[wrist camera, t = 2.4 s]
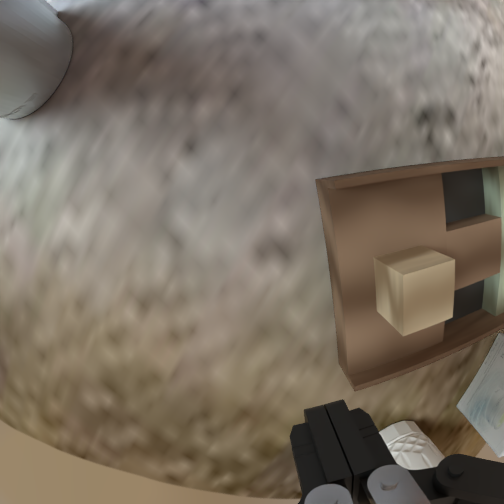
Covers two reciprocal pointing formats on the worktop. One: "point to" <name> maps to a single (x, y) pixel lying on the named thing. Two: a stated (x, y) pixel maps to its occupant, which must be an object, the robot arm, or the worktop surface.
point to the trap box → (407, 236)
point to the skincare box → (488, 398)
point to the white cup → (411, 446)
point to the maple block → (414, 288)
